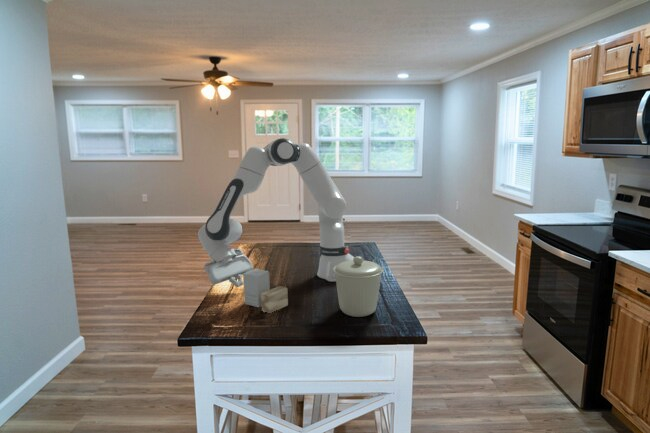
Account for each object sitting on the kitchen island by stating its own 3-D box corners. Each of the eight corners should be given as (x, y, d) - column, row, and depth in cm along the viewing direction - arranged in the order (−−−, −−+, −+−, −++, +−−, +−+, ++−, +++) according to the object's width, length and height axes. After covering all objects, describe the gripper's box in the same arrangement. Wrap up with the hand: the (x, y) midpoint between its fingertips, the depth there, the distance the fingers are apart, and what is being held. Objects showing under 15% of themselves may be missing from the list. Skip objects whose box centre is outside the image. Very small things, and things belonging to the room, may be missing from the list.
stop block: (261, 311, 159) (261, 293, 158) (280, 302, 167) (279, 285, 166) (269, 313, 157) (268, 296, 156) (287, 305, 165) (287, 287, 163)
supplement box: (271, 301, 168) (269, 271, 166) (258, 308, 162) (256, 276, 160) (257, 297, 172) (255, 268, 170) (244, 304, 166) (242, 273, 164)
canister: (365, 298, 170) (365, 247, 166) (392, 315, 154) (393, 259, 150) (325, 307, 162) (324, 254, 158) (349, 326, 146) (349, 267, 142)
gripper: (205, 260, 167) (223, 289, 163) (244, 248, 183) (261, 274, 179) (199, 269, 170) (216, 297, 166) (238, 256, 186) (254, 282, 182)
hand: (240, 285), depth 173 cm, fingers closed
